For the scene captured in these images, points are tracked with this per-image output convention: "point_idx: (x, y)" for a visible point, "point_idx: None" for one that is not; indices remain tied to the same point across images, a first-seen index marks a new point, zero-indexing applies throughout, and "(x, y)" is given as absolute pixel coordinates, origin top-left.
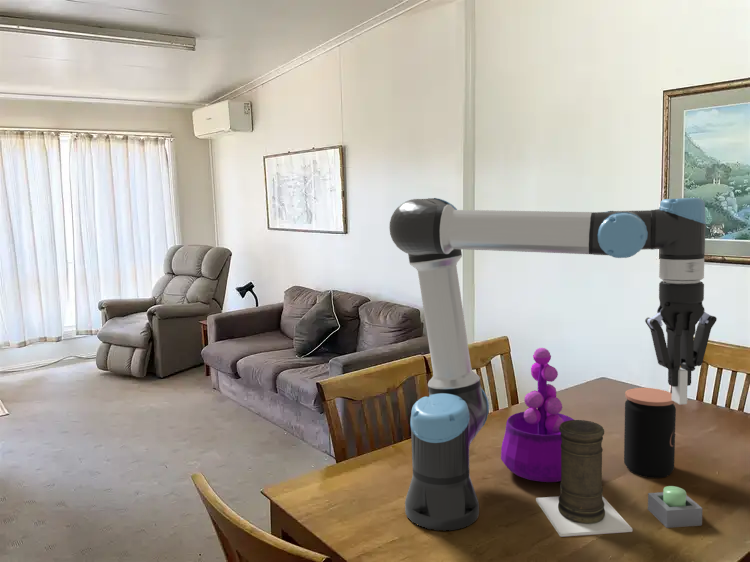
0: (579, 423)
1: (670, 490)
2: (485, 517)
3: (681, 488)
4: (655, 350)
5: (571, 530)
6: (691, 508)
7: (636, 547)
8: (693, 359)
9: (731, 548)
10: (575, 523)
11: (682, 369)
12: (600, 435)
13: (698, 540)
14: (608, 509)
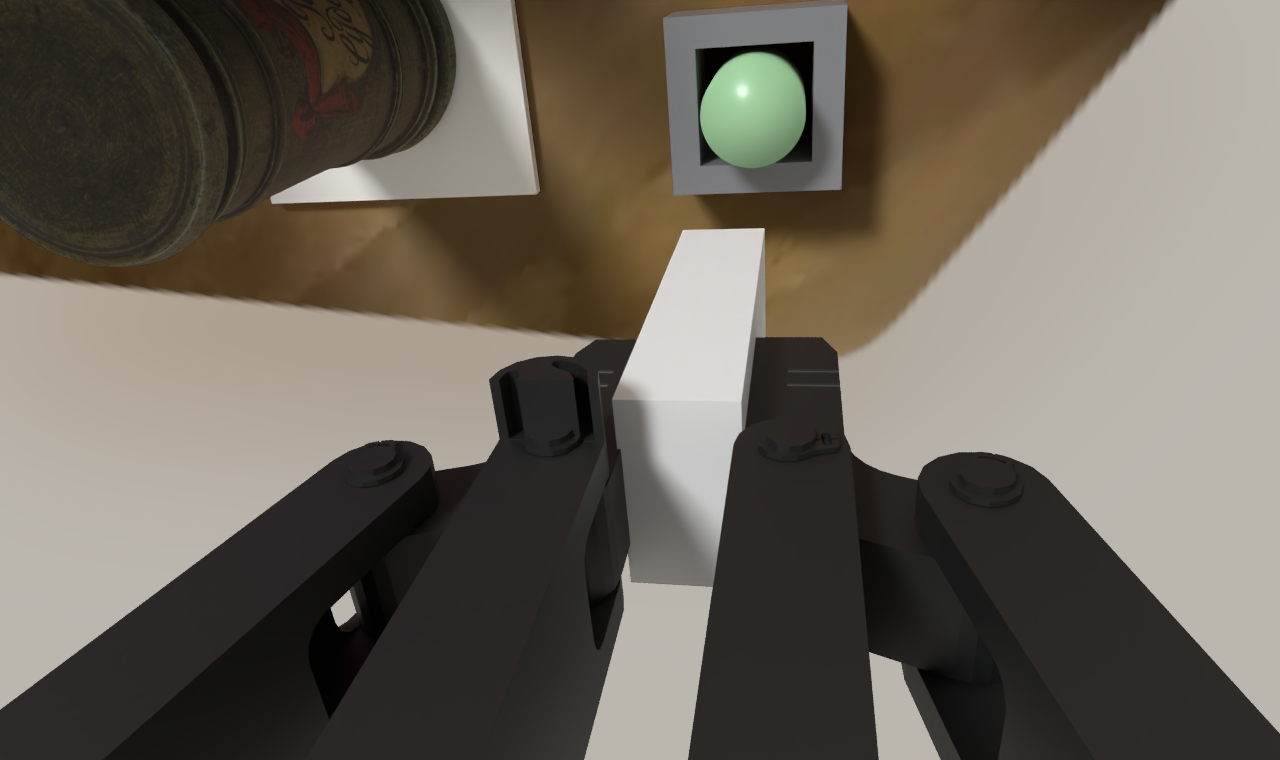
0: (41, 49)
1: (733, 109)
2: None
3: (800, 92)
4: (129, 630)
5: (312, 185)
6: (790, 187)
7: (520, 287)
8: (920, 632)
9: (844, 327)
10: None
11: (712, 519)
12: (189, 242)
13: None
14: (486, 28)
